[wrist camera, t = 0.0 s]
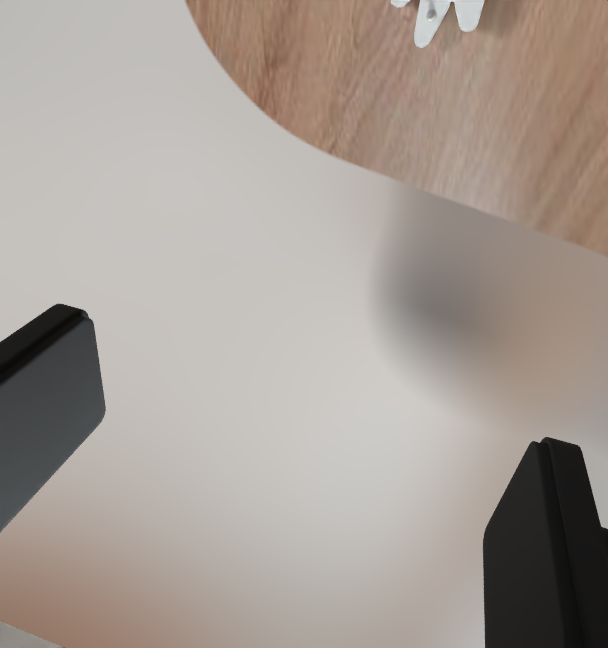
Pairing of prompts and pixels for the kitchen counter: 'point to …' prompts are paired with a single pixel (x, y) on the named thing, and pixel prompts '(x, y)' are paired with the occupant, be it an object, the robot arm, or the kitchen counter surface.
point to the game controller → (442, 16)
